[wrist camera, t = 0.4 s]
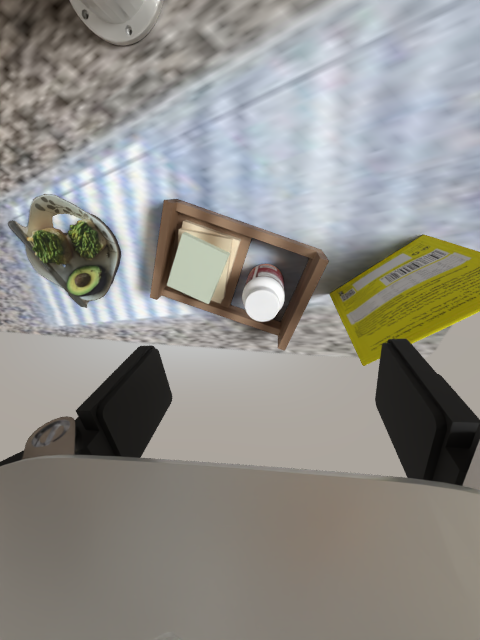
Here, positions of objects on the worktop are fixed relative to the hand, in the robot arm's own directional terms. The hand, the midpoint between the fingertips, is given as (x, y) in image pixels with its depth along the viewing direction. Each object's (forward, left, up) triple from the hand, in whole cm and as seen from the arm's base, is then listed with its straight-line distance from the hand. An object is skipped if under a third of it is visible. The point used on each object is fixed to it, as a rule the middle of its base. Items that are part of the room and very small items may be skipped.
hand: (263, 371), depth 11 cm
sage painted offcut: (-10, -7, -29) cm, 31 cm away
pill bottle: (+1, -7, -34) cm, 34 cm away
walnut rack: (-5, -7, -33) cm, 34 cm away
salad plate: (-33, -14, -34) cm, 50 cm away
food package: (+16, +1, -34) cm, 37 cm away
